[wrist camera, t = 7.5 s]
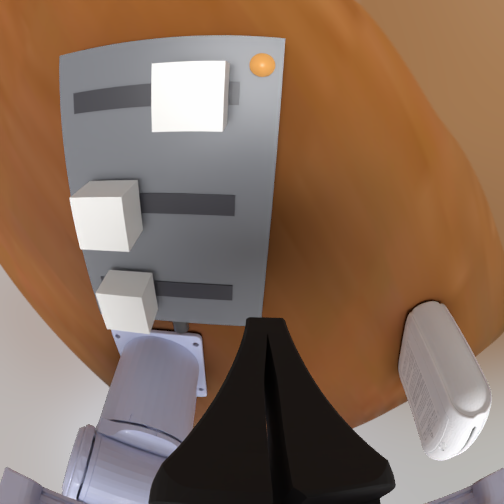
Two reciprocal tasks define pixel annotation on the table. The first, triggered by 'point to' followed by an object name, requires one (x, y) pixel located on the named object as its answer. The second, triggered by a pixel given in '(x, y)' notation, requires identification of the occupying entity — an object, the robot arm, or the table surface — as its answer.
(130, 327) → the switch
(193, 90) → the switch
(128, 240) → the switch middle
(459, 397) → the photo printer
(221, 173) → the switch panel
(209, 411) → the robot arm
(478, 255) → the table surface
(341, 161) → the table surface
